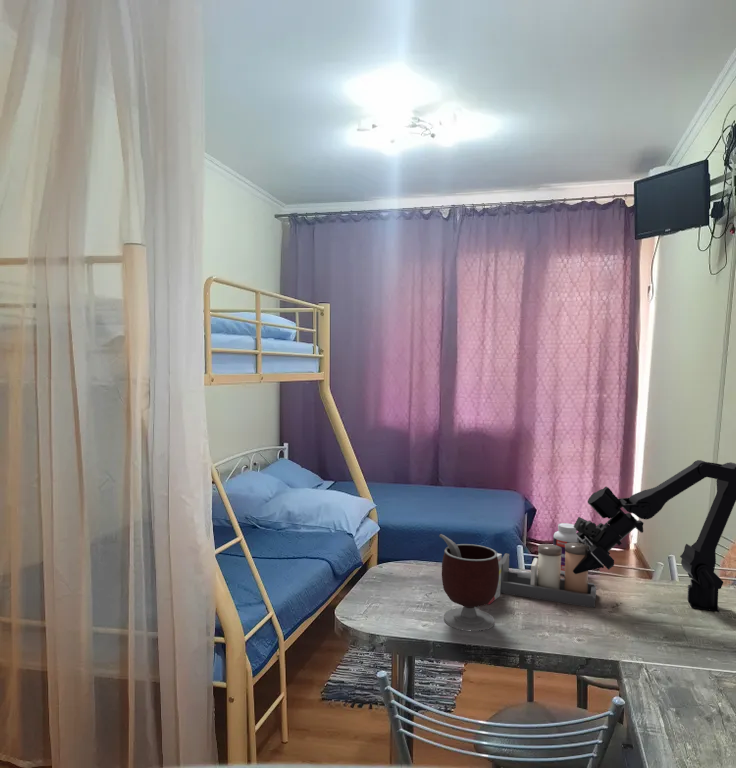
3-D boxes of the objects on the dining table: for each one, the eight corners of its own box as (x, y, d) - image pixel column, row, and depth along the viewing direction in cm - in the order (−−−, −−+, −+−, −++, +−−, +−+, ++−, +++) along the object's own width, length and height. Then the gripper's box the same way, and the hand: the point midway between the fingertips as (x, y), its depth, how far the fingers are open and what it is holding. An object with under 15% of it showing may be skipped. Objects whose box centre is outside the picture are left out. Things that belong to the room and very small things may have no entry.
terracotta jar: (591, 592, 167) (592, 545, 167) (582, 599, 163) (583, 550, 162) (570, 587, 171) (571, 541, 171) (560, 592, 167) (561, 545, 166)
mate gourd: (506, 618, 153) (508, 538, 152) (483, 638, 141) (486, 552, 140) (450, 603, 161) (452, 528, 161) (424, 620, 150) (426, 540, 149)
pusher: (537, 586, 174) (538, 558, 174) (533, 594, 168) (534, 566, 167) (519, 583, 176) (520, 555, 176) (515, 591, 170) (516, 563, 169)
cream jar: (561, 591, 171) (562, 545, 171) (559, 599, 166) (560, 551, 165) (538, 588, 174) (539, 542, 173) (535, 595, 168) (537, 548, 168)
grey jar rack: (595, 594, 170) (596, 565, 170) (594, 607, 160) (595, 577, 160) (504, 580, 179) (505, 553, 179) (497, 592, 170) (498, 563, 170)
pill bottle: (551, 574, 185) (553, 527, 185) (552, 566, 193) (553, 521, 193) (580, 577, 183) (581, 530, 183) (579, 569, 191) (580, 523, 190)
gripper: (585, 501, 175) (544, 537, 177) (602, 517, 157) (557, 557, 158) (612, 529, 174) (571, 565, 176) (633, 549, 156) (587, 589, 158)
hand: (571, 568), depth 167 cm, fingers closed on terracotta jar, 6 cm apart
